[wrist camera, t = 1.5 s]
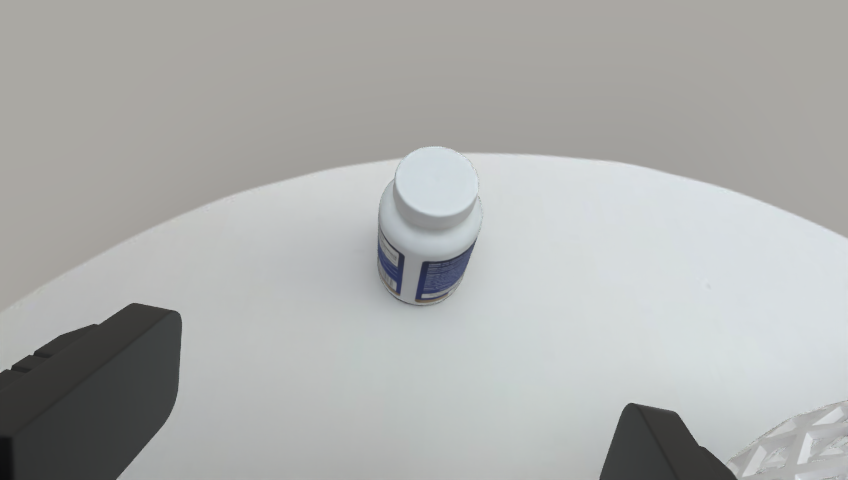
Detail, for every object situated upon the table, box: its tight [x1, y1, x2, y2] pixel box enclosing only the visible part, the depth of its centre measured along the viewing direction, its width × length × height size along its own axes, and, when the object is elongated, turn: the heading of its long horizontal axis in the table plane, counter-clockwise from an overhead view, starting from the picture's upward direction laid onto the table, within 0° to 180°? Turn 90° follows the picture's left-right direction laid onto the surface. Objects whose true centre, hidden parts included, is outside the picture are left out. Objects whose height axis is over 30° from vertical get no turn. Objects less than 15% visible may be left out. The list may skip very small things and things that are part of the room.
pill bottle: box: [378, 146, 483, 305], centre depth 29 cm, size 5×5×10 cm
